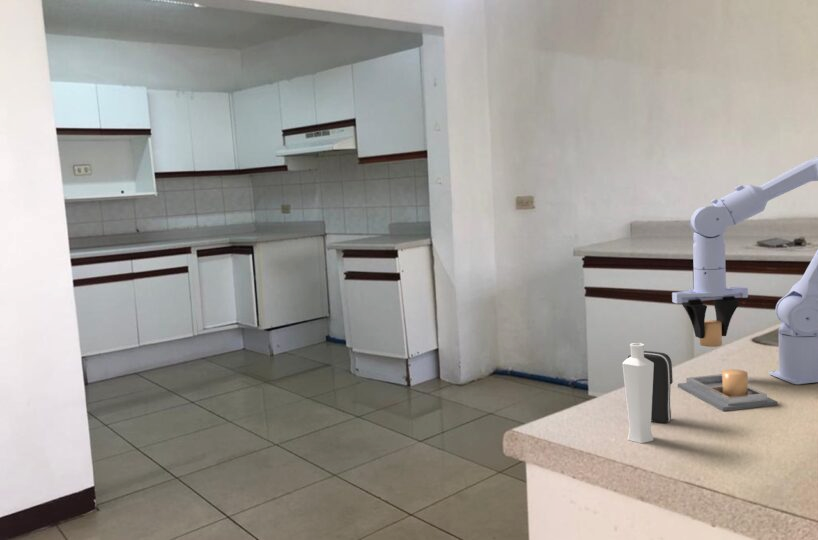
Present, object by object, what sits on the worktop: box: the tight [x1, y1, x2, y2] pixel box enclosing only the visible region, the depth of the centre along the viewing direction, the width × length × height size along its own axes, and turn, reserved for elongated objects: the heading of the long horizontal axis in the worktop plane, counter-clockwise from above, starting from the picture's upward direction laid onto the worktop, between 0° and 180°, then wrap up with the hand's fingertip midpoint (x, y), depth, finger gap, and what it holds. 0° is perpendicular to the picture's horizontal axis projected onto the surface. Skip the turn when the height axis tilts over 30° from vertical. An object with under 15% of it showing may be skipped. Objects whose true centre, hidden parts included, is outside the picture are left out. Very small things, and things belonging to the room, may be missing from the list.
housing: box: [677, 369, 779, 412], centre depth 121 cm, size 10×15×5 cm, turn 6°
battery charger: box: [627, 350, 674, 424], centre depth 112 cm, size 7×4×11 cm, turn 50°
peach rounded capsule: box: [699, 319, 723, 348], centre depth 131 cm, size 4×4×4 cm
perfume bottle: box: [621, 342, 655, 444], centre depth 103 cm, size 5×4×15 cm
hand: (710, 336), depth 131 cm, fingers closed on peach rounded capsule, 4 cm apart
